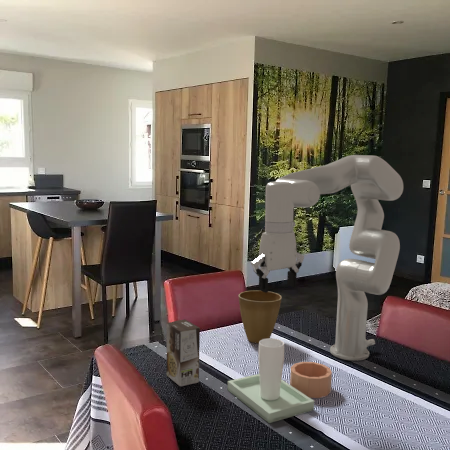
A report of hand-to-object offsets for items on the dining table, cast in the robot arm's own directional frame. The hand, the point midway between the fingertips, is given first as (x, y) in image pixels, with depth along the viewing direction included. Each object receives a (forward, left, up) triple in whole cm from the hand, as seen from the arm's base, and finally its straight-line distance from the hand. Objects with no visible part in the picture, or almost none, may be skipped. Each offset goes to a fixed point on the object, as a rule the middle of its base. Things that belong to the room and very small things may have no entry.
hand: (277, 288), depth 142 cm
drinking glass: (+6, +7, -27) cm, 29 cm away
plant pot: (-16, -31, -28) cm, 45 cm away
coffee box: (+21, -15, -28) cm, 39 cm away
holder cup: (-8, +7, -28) cm, 30 cm away
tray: (+6, +7, -28) cm, 29 cm away
